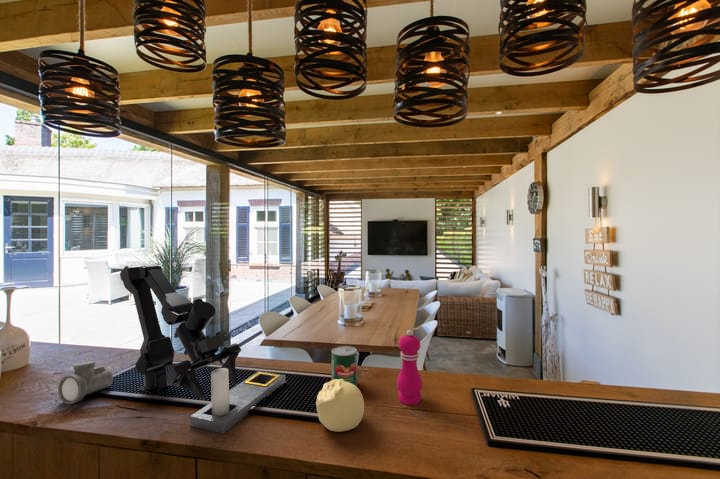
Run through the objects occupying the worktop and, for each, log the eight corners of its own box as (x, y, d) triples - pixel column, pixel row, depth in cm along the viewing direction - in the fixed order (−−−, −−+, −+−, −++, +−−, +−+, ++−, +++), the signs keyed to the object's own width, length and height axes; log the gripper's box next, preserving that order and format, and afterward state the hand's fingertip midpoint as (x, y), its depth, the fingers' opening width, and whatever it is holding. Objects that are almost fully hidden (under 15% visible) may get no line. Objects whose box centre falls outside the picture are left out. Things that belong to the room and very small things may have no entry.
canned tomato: (342, 393, 102) (341, 357, 102) (326, 384, 108) (326, 350, 108) (362, 385, 108) (362, 350, 107) (346, 377, 113) (346, 344, 113)
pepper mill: (425, 396, 101) (425, 327, 100) (418, 408, 94) (418, 335, 93) (401, 391, 104) (401, 325, 103) (393, 402, 97) (393, 332, 96)
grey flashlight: (77, 406, 96) (77, 367, 97) (56, 404, 98) (56, 367, 99) (118, 391, 107) (118, 356, 108) (98, 389, 109) (99, 356, 110)
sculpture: (319, 411, 93) (319, 371, 92) (364, 412, 92) (364, 372, 92) (312, 438, 81) (311, 392, 81) (363, 438, 81) (363, 393, 80)
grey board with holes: (223, 433, 83) (222, 422, 83) (190, 426, 86) (190, 415, 86) (285, 383, 110) (285, 374, 109) (258, 378, 113) (258, 370, 113)
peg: (208, 421, 89) (207, 373, 88) (221, 413, 92) (220, 366, 92) (220, 425, 87) (219, 376, 86) (233, 416, 90) (231, 369, 90)
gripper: (170, 332, 83) (199, 388, 78) (236, 315, 99) (264, 360, 93) (155, 358, 88) (181, 413, 82) (219, 337, 104) (245, 382, 98)
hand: (221, 390), depth 89 cm, fingers open, 9 cm apart
